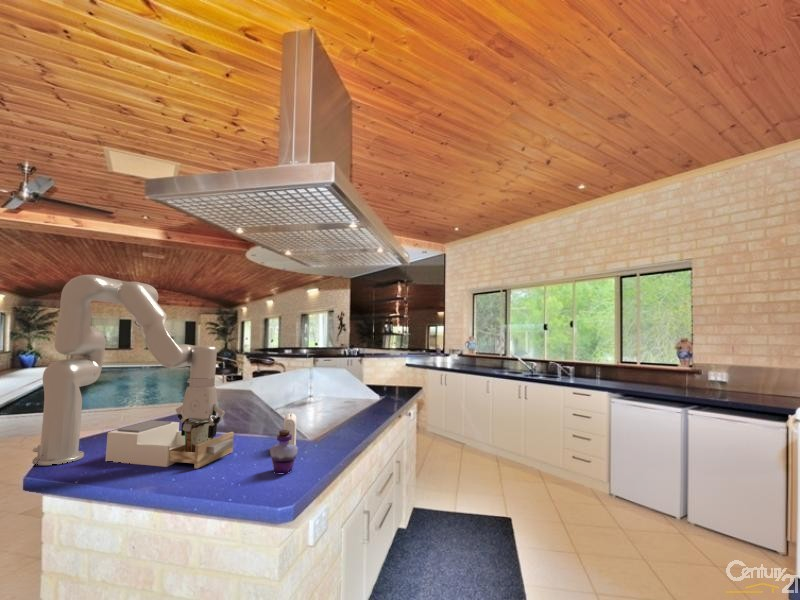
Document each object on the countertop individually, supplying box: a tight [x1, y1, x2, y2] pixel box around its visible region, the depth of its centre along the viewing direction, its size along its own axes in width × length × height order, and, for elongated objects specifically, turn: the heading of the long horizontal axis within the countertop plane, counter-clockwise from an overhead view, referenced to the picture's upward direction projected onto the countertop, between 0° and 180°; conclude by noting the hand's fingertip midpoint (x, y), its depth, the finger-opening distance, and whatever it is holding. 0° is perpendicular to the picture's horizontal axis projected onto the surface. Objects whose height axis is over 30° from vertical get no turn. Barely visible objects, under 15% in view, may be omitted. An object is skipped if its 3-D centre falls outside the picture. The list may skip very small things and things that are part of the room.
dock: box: [105, 420, 185, 468], centre depth 137 cm, size 22×18×10 cm
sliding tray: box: [169, 431, 235, 469], centre depth 134 cm, size 14×18×7 cm
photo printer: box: [283, 413, 298, 446], centre depth 148 cm, size 10×4×12 cm, turn 11°
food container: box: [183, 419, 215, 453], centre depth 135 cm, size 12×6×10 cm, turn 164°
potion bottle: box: [269, 429, 299, 474], centre depth 124 cm, size 9×9×12 cm
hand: (198, 436), depth 135 cm, fingers open, 9 cm apart
